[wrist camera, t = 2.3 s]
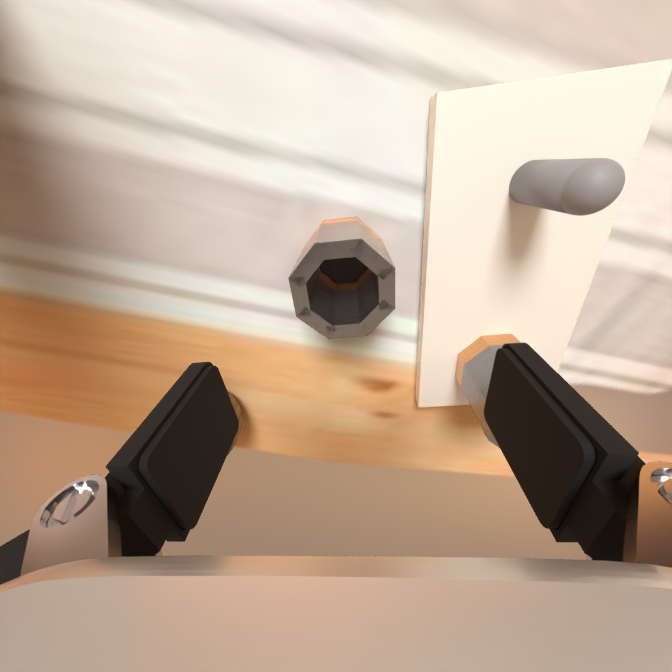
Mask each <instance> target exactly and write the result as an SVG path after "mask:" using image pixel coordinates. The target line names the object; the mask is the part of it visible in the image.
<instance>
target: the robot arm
mask: <svg viewBox="0 0 672 672" xmlns="http://www.w3.org/2000/svg"><path fill="white" fill-rule="evenodd" d="M484 417H485V420H486V423H487V424H488V426H489V428H490V430H491V432H492V434H493V436H494V437H495V439H496V441H497V443H498V445H499V447H500V449H501V450H502V452H503V454H504V456H505V458H506V460H507V462H508V464H509V465H510V467H511V469H512V471H513V473H514V475H515V477H516V478H517V480H518V482H519V484H520V486H521V488H522V489H523V492H524V493H525V495H526V497H527V499H528V501H529V503H530V504H531V506H532V508H533V510H534V512H535V514H536V516H537V517H538V520H539V521H540V523H541V524H542V525H543V526H544V527H545V528H549V529H550V531H551V532H552V534H553V536H554V538H555V539H556V542H578V543H579V544H580V546H581V548H582V549H583V551H584V553H585V554H586V559H585V560H565V559H530V558H462V557H458V558H457V557H365V556H362V557H360V556H358V557H357V556H356V557H355V556H162V551H161V548H162V546H163V544H164V542H165V540H167V541H185V540H186V538H187V535H188V533H189V531H190V529H193V528H194V527H195V526H196V524H197V522H198V520H199V518H200V515H201V513H202V511H203V509H204V506H205V504H206V502H207V500H208V497H209V495H210V493H211V490H212V488H213V486H214V484H215V481H216V479H217V477H218V474H219V472H220V470H221V468H222V465H223V463H224V461H225V458H226V456H227V454H228V452H229V449H230V447H231V445H232V443H233V440H234V438H235V436H236V433H237V431H238V428H239V421H238V418H237V415H236V413H235V410H234V408H233V405H232V403H231V400H230V397H229V395H228V392H227V390H226V387H225V385H224V382H223V380H222V377H221V375H220V372H219V370H218V368H217V367H216V366H213V364H212V363H210V362H201V363H192V364H191V365H190V366H189V367H188V368H187V370H186V371H185V372H184V373H183V374H182V376H181V377H180V378H179V379H178V380H177V382H176V383H175V384H174V385H173V386H172V388H171V389H170V390H169V391H168V392H167V394H166V395H165V396H164V397H163V398H162V400H161V401H160V402H159V403H158V404H157V406H156V407H155V408H154V409H153V410H152V412H151V413H150V414H149V415H148V416H147V418H146V419H145V420H144V421H143V422H142V424H141V425H140V426H139V427H138V428H137V430H136V431H135V432H134V433H133V434H132V436H131V437H130V438H129V439H128V440H127V442H126V443H125V444H124V445H123V446H122V448H121V449H120V450H119V451H118V452H117V454H116V455H115V456H114V457H113V458H112V460H111V461H110V462H109V463H108V464H107V466H106V468H107V469H108V470H109V471H110V472H109V473H108V475H107V476H106V477H105V478H104V477H103V476H101V475H95V474H92V475H88V476H83V477H81V478H79V479H76V480H74V481H72V482H70V483H69V484H67V485H65V486H63V487H62V488H61V489H59V490H58V491H57V492H55V493H54V494H53V495H52V496H50V498H49V499H47V500H46V501H45V502H44V503H43V505H42V506H41V507H40V508H39V510H38V511H37V513H36V514H35V516H34V519H33V521H32V523H31V528H30V529H29V530H28V531H26V532H24V533H22V534H21V535H19V536H17V537H16V538H14V539H12V540H11V541H9V542H7V543H5V544H4V545H2V546H0V672H672V463H668V462H661V461H659V462H649V463H647V464H645V463H644V462H643V461H642V460H641V459H640V458H639V457H638V456H637V455H638V453H639V452H638V451H636V450H635V449H634V448H633V447H632V446H631V445H630V444H629V443H628V442H627V441H626V440H625V439H624V438H623V437H622V436H621V435H620V434H619V433H618V432H617V431H616V430H615V429H614V428H613V427H612V426H611V425H610V424H609V423H608V422H607V421H606V420H605V419H604V418H603V417H602V416H601V415H600V414H599V413H598V412H597V411H596V410H595V409H593V407H592V406H591V405H590V404H589V403H587V401H585V399H583V398H582V397H581V396H580V395H579V394H578V393H577V392H576V391H575V390H574V389H573V388H572V387H571V386H570V385H569V384H568V383H567V382H566V381H565V380H564V379H563V378H562V377H561V376H560V375H559V374H558V373H557V372H556V371H555V370H554V369H553V368H552V367H551V366H550V365H549V364H548V363H547V362H546V361H545V360H544V359H543V358H542V357H541V356H540V355H539V354H538V353H537V352H536V351H535V350H534V349H533V348H532V347H530V346H529V345H528V344H527V343H524V342H522V343H506V344H504V345H503V346H502V348H499V349H498V350H497V351H496V355H495V360H494V365H493V369H492V374H491V379H490V383H489V388H488V393H487V397H486V402H485V407H484Z"/></svg>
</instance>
